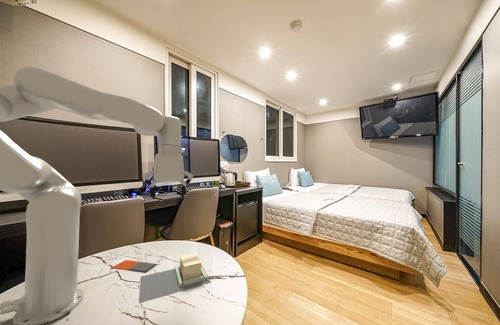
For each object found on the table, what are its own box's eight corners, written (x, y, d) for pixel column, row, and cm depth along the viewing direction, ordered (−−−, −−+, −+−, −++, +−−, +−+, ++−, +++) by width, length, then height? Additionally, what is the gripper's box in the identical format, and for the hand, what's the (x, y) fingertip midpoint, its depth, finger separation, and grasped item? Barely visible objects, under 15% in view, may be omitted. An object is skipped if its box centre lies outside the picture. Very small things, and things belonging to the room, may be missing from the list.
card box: (179, 270, 67) (180, 256, 67) (195, 266, 70) (195, 253, 70) (183, 282, 60) (184, 266, 60) (200, 277, 62) (201, 262, 63)
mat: (138, 304, 51) (138, 299, 51) (140, 278, 63) (140, 273, 63) (211, 283, 60) (211, 279, 60) (200, 264, 72) (200, 260, 72)
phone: (125, 259, 74) (158, 263, 71) (125, 262, 74) (158, 266, 71) (110, 267, 68) (145, 272, 65) (109, 271, 68) (145, 276, 65)
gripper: (191, 152, 76) (190, 195, 76) (143, 150, 68) (141, 197, 68) (195, 151, 70) (194, 197, 69) (142, 148, 62) (140, 200, 61)
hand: (168, 197), depth 68 cm, fingers open, 9 cm apart
